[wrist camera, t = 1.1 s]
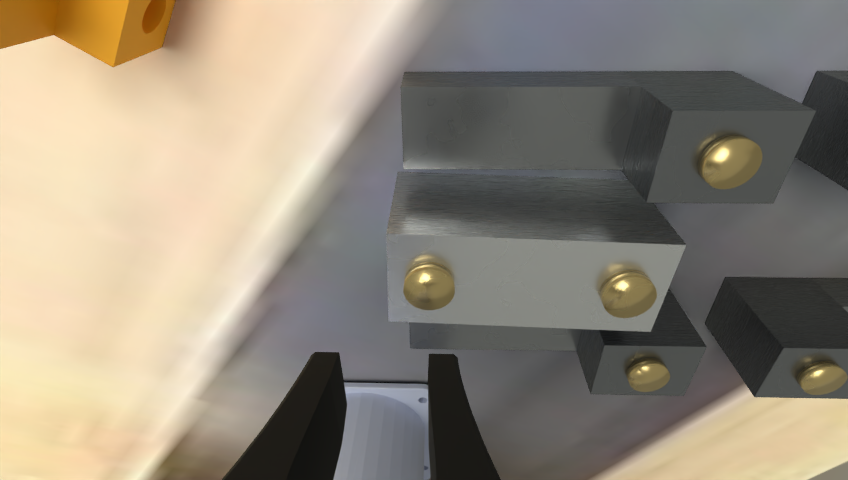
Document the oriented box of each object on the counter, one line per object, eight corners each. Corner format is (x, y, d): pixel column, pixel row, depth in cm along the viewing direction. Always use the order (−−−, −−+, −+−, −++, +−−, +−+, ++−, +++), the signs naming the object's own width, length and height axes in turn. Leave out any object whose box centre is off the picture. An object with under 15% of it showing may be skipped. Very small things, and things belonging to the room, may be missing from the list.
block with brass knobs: (610, 255, 22) (655, 341, 17) (398, 247, 22) (387, 330, 17) (634, 178, 20) (693, 253, 15) (398, 169, 20) (385, 241, 15)
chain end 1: (645, 322, 24) (687, 403, 20) (412, 319, 24) (406, 398, 20) (732, 71, 17) (825, 115, 13) (404, 72, 17) (393, 115, 13)
